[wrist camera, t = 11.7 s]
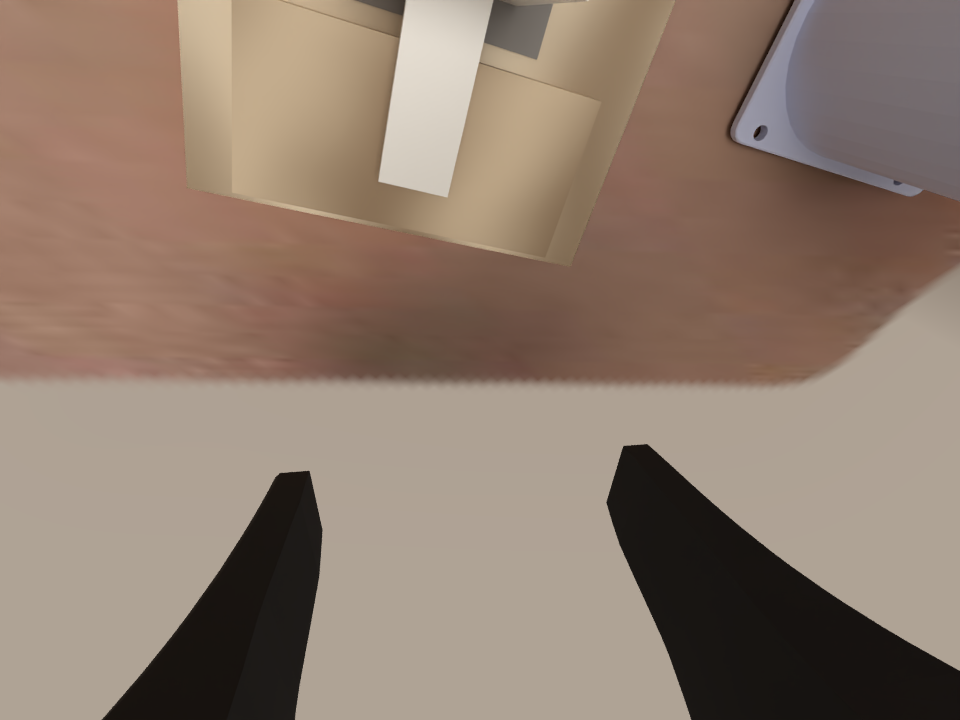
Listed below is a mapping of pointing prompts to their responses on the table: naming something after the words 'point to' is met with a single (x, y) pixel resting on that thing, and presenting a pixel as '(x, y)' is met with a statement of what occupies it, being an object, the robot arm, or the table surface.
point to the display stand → (365, 103)
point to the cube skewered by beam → (434, 90)
